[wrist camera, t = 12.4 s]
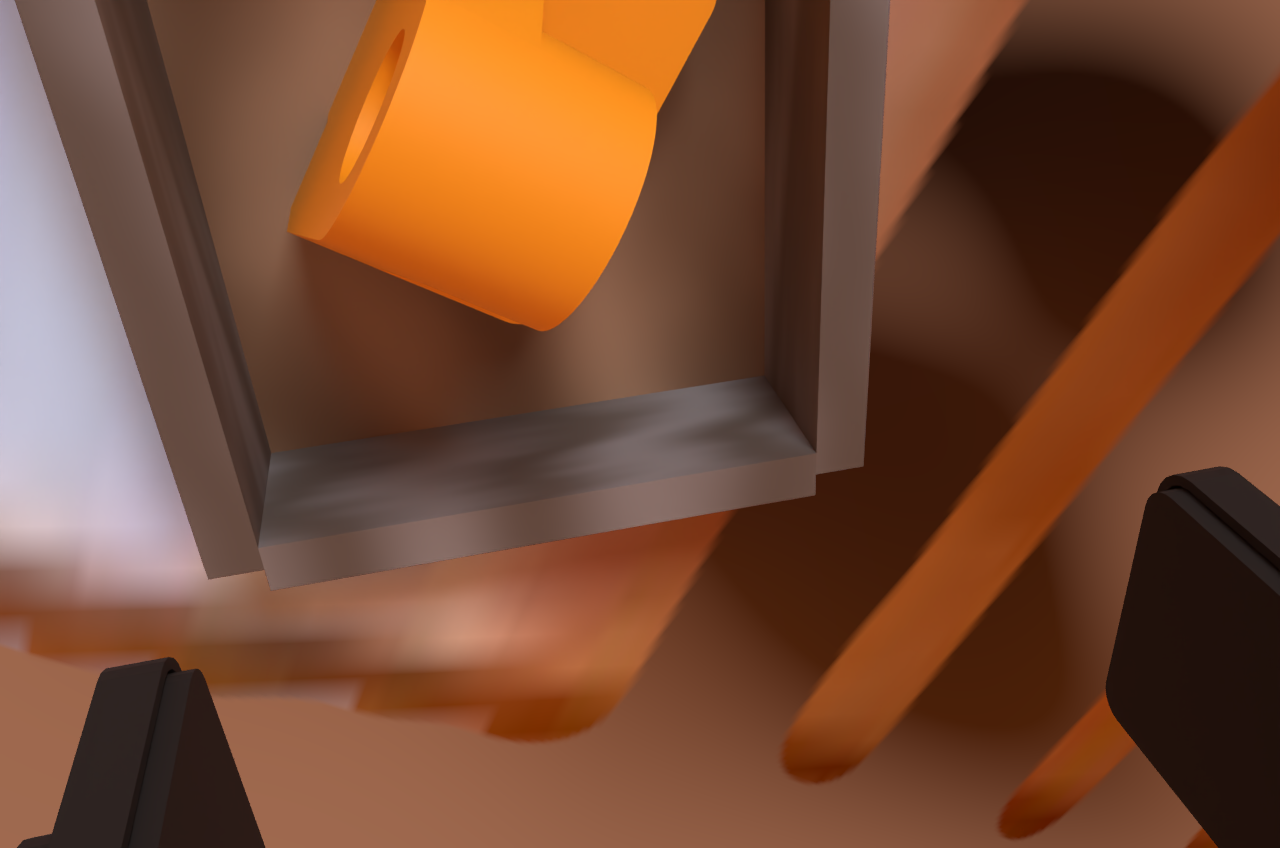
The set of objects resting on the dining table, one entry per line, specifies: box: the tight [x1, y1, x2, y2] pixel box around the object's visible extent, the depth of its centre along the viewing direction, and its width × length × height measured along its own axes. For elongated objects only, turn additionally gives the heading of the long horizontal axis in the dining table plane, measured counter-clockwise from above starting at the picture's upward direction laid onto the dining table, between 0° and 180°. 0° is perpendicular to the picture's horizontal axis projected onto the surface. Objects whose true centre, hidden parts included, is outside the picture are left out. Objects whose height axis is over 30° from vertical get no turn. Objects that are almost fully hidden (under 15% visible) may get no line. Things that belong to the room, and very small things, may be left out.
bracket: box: [287, 0, 716, 331], centre depth 25 cm, size 11×7×12 cm
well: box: [15, 0, 890, 591], centre depth 29 cm, size 20×24×6 cm
